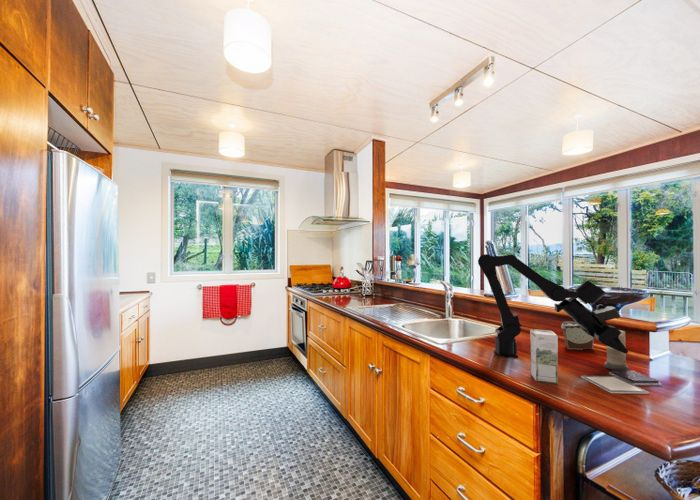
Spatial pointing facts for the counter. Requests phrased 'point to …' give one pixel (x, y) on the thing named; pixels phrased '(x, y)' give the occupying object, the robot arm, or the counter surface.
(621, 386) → the marked board
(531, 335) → the syrup box
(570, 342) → the food container
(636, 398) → the counter surface
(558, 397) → the counter surface
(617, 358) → the stamp
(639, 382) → the ink pad
